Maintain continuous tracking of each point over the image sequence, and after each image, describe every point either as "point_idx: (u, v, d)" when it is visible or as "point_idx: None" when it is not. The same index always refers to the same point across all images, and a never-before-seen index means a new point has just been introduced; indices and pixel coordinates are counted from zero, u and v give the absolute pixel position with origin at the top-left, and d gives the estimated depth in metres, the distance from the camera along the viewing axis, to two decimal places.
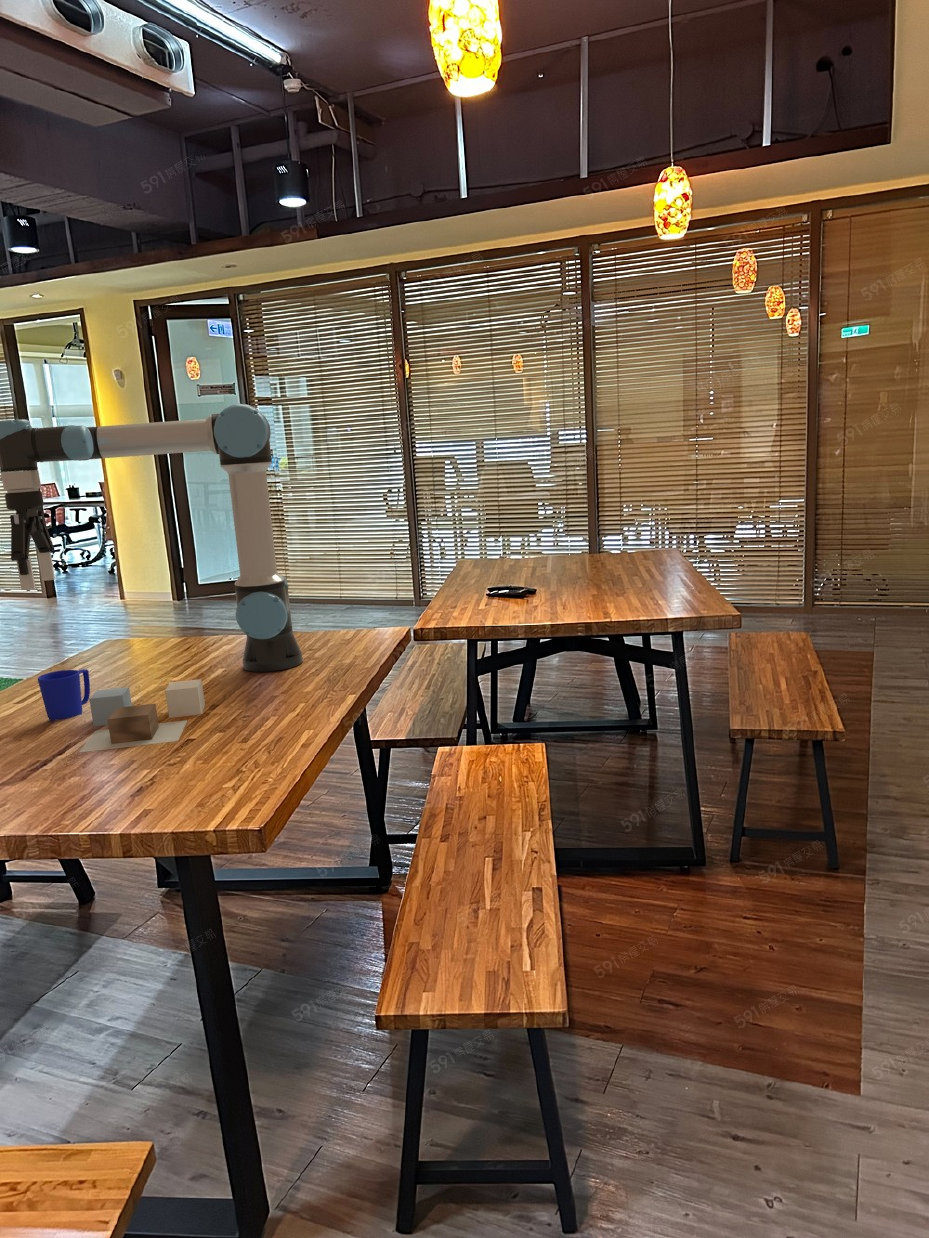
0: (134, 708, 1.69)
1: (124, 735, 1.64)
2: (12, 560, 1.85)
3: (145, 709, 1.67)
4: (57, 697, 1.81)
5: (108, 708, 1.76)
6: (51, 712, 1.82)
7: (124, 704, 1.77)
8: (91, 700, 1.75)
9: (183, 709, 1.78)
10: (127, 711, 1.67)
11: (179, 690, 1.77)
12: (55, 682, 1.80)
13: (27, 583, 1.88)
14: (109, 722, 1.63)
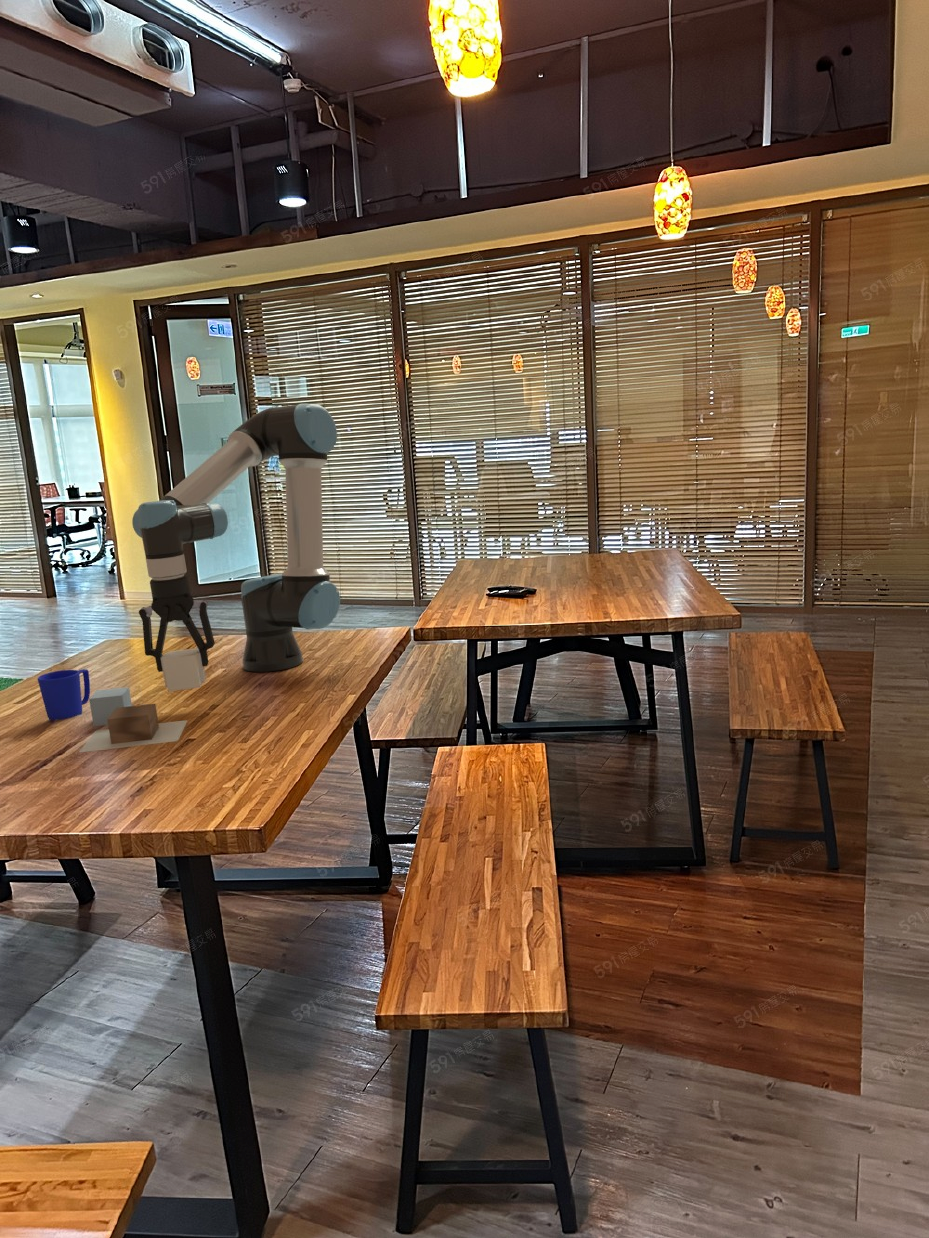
0: (134, 708, 1.69)
1: (124, 735, 1.64)
2: None
3: (145, 709, 1.67)
4: (57, 697, 1.81)
5: (108, 708, 1.76)
6: (51, 712, 1.82)
7: (124, 704, 1.77)
8: (91, 700, 1.75)
9: (181, 678, 1.77)
10: (127, 711, 1.67)
11: (177, 658, 1.76)
12: (55, 682, 1.80)
13: None
14: (109, 722, 1.63)
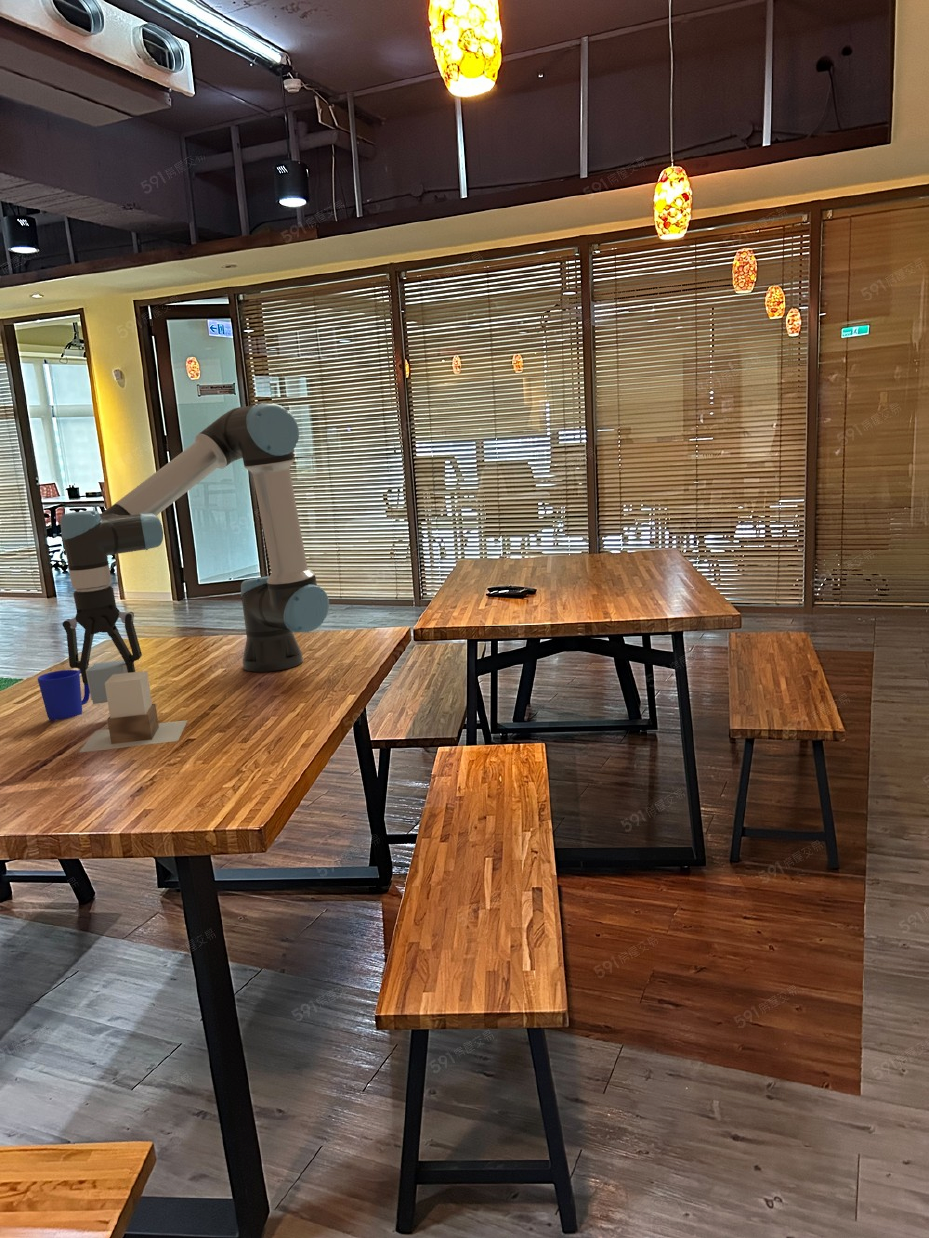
0: None
1: (124, 735, 1.64)
2: None
3: None
4: (57, 697, 1.81)
5: (106, 680, 1.75)
6: (51, 712, 1.82)
7: None
8: (89, 672, 1.74)
9: (125, 704, 1.63)
10: None
11: (120, 682, 1.62)
12: (55, 682, 1.80)
13: None
14: (109, 722, 1.63)
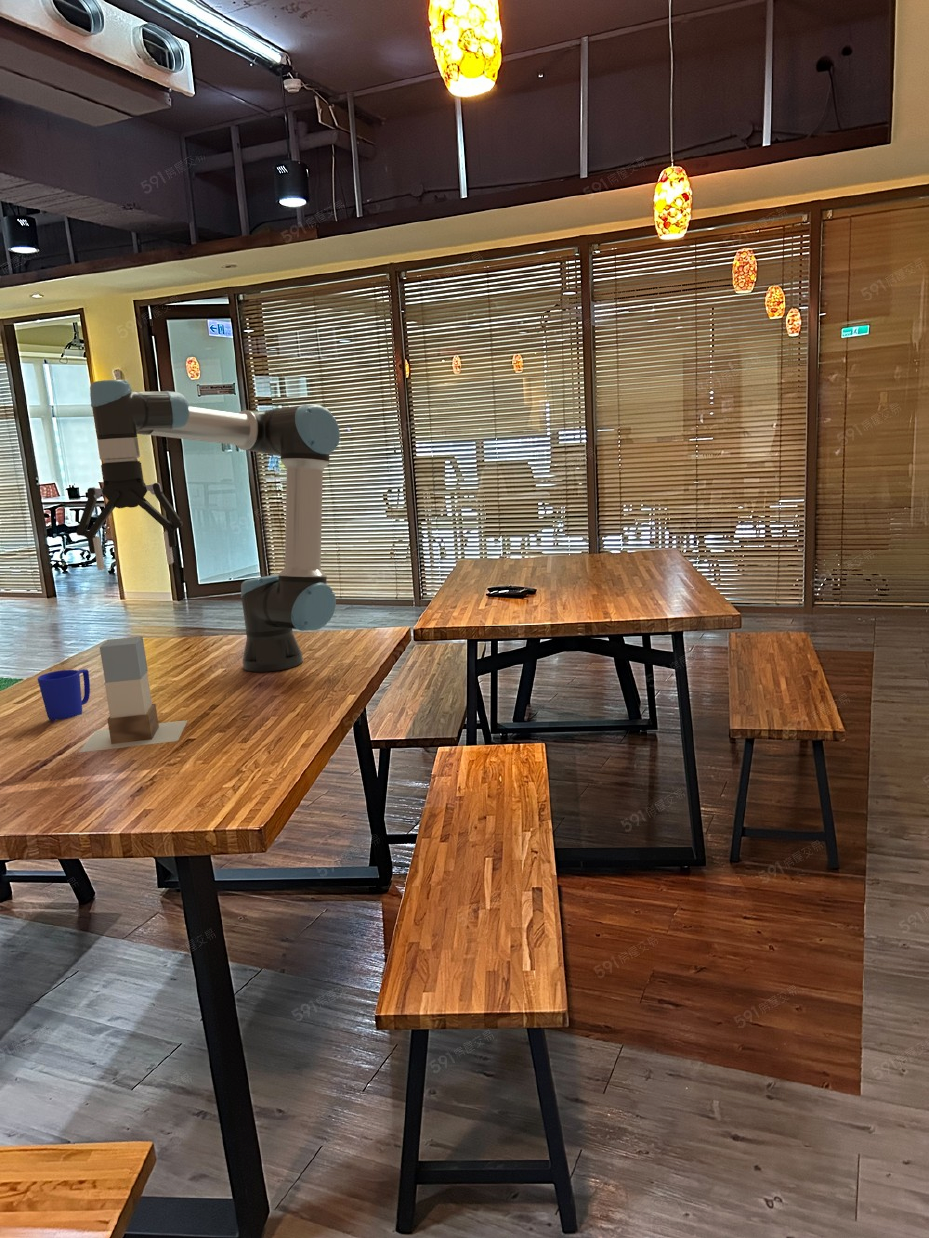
0: None
1: (124, 735, 1.64)
2: None
3: None
4: (57, 697, 1.81)
5: (120, 657, 1.61)
6: (51, 712, 1.82)
7: (137, 653, 1.62)
8: (102, 648, 1.61)
9: (125, 704, 1.63)
10: None
11: (120, 682, 1.62)
12: (55, 682, 1.80)
13: None
14: (109, 722, 1.63)
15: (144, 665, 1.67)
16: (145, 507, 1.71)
